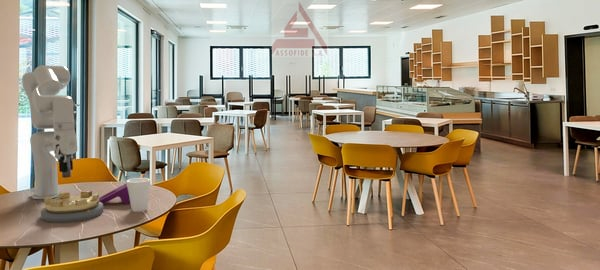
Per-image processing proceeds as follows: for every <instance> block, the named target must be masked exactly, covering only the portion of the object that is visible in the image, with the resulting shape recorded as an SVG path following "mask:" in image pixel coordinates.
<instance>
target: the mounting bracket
mask: <svg viewBox="0 0 600 270" xmlns="http://www.w3.org/2000/svg"><path fill="white" fill-rule="evenodd" d="M118 197H119V199H120V201H121V202H122V204H125V205H131V204H130V198H129V193H128V188H127V182H126V183H124V184H123V185H120V186H118V187H116V188H114V189H113V190H111V191H109V192H107V193H105V194H104V195H101V196H100V197H99V202H101V203H103V205H105V204H106V203H108V202H111V201H112V200H114V199H116V198H118Z"/></svg>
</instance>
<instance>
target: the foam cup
mask: <svg viewBox="0 0 600 270" xmlns="http://www.w3.org/2000/svg"><path fill="white" fill-rule="evenodd" d="M126 183H127V188H128V193H129V198H130V204H129V205H130V207H131V211H132V212H134V213H137V212H139V213H140V212H145V211H147V210H148V205H149V199H150V198H149V197H150V195H149V194H150V188H151V187H150V186H151V179H150V178H147V177H138V178H130V179H127V180H126Z"/></svg>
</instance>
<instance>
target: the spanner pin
mask: <svg viewBox="0 0 600 270" xmlns="http://www.w3.org/2000/svg"><path fill="white" fill-rule="evenodd" d="M61 155H64V154H62V153H61ZM61 157H63V156H61ZM66 162H67V166H68V171H67V172H61V177H62V178H64V179H65V178H67V179H68V178H71V177H72V170H71V167H70V154H69V155H66Z"/></svg>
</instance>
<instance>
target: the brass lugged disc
mask: <svg viewBox="0 0 600 270" xmlns="http://www.w3.org/2000/svg"><path fill="white" fill-rule="evenodd" d="M70 194H71V193H70V191H64V192H62V193H58V197H56V198H52V197H46V198H45V199H43V201H44V208H45V211H46V212H49V213H58V214H62V213H75V212H81V211H86V210H90V209H93V208H95V207H97V206H98V205H99V198H100V197H99V193H97V192H95V193H93V191H92V190H81V191H80V195H79V194H78V195H70Z"/></svg>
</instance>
